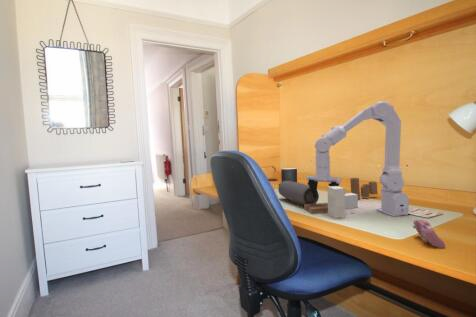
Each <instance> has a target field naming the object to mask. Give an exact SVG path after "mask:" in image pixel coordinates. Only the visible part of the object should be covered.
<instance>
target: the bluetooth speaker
mask: <svg viewBox="0 0 476 317" xmlns="http://www.w3.org/2000/svg"><path fill="white" fill-rule="evenodd" d="M277 189H278V193H279V195H280V196H282V197H283V198H285V199H287V200H289V202H291V203H293V204H296V205H300V206H304V205H305V204H317V203H318V201H319V198H320V194H319V191H318V190H317V197H316V198H313V195H312V191H311V189H310V187H309V185H308V184H304V183H300V182H295V181H290V180H284V181H281V182H280V183H279V185H278V188H277Z"/></svg>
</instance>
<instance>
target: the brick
mask: <svg viewBox="0 0 476 317" xmlns="http://www.w3.org/2000/svg"><path fill="white" fill-rule="evenodd" d="M354 207H357V208H358V207H359V199H358V195H357V194H354V193H351V192H348V193H346V192H345V210H347V208H348V209H354Z"/></svg>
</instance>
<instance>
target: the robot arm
mask: <svg viewBox="0 0 476 317" xmlns="http://www.w3.org/2000/svg"><path fill="white" fill-rule="evenodd" d="M371 119H372V120H374V121H378V122H379V123H381V124H382V125H383V126H385V137H384V138H385V139H384V140H385V143H384V146H385V147H384V166H383V167H382V173H381V174H380V176H379V182H380V184H381V185H382V186H381V188H380V193H381V194H380V195H381V196H380V199H381V203H380V205H381V206H380V208H375V210H376V211H378V212H380V213H384V214H386V215H389V216H391V217H396V216H397V217H398V216H409V215H408V214H410V215H411V212H410V211H409V210H410V208H409V204H410V202H409V201H410V198H409V196H408V195H407V194H406V193H404V191H403V188H404V185H405V180H404V178H403V176H402V175H403V173H402V170H401V167H400V159H401V158H400V157H401V137H402V136H401V135H402V134H401V132H402V131H401V130H402V120H401V118H400V116H399V115H398V113H397V111H396V110H395V107H394V105H393V104H390V103H389V102H388V101H385V100H381V101H377V102H376V103H373V104H370V106H368V107H366V108H364V109H363V110H361V111H359V112H358V113H356V115H354V116H352V117H351V119H349V120H348V121H346V122H345V123H343V125H336V126H331V130H329V131H328V132H327V133H325V134H322V135H321V137H320V138H318V139H317V140H316V141H315V144H314V148H315V175H306V176H305V177H306V181H307V185H308V186H309V187H310V189H311V191H312V195H313V198H316V197H317V191H318V184H319V182H320V183H321V182H324V183H328V186H339V187H340V184H341V183H342V180H341V179H342V178H341V177H334V176H331V156H330V149H331V147H334V146H335V145H336V144H337V143H339V142H340V141H342V140H344V139H345V138H346V137H347V133H348V132H349V131H350V130H352V129H353V128H354V127H356V126H357V125H359V124H361V123H362V122H364V121H366V120H371Z"/></svg>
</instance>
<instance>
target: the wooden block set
mask: <svg viewBox="0 0 476 317" xmlns="http://www.w3.org/2000/svg"><path fill="white" fill-rule="evenodd" d="M349 181H350V182H349V183H350V193H354V194H357V195H358V200H360V199H361V197H362V198H369V197H370V195H378V182H377V181H368V183H364V184H362V185H360V178H359V177H351V178H350V180H349Z"/></svg>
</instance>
